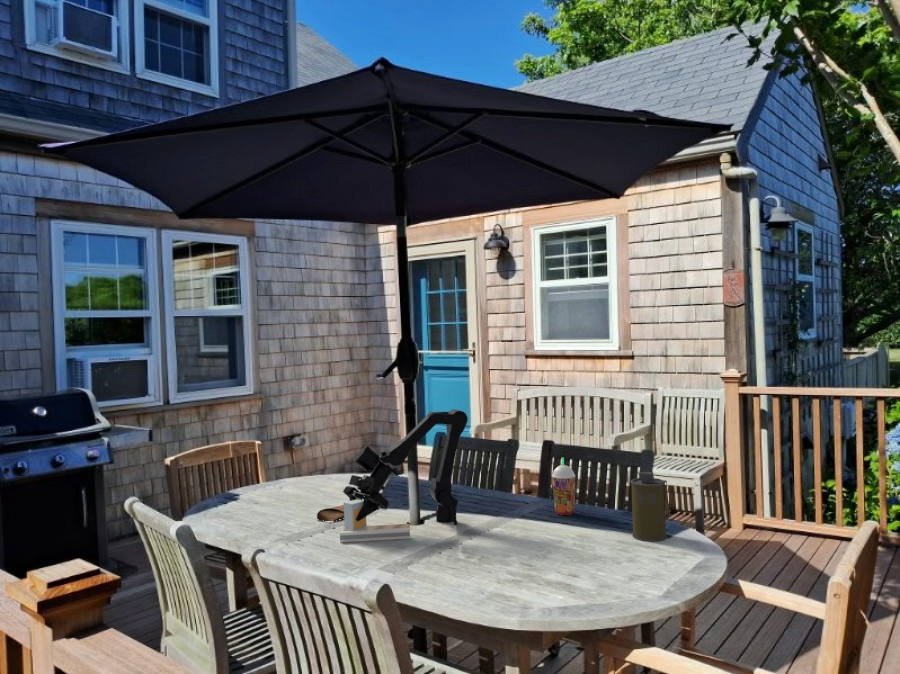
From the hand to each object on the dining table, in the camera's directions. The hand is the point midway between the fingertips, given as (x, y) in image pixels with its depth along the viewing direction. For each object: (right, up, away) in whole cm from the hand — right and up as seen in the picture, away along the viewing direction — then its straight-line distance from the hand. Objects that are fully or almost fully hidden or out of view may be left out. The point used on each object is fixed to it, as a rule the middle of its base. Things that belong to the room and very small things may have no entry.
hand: (351, 519), depth 236 cm
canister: (+94, -3, -9) cm, 95 cm away
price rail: (+8, -5, -4) cm, 11 cm away
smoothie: (+73, -4, +22) cm, 76 cm away
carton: (+1, -5, +1) cm, 6 cm away
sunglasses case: (-7, -7, +30) cm, 31 cm away
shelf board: (+8, -6, +3) cm, 10 cm away
